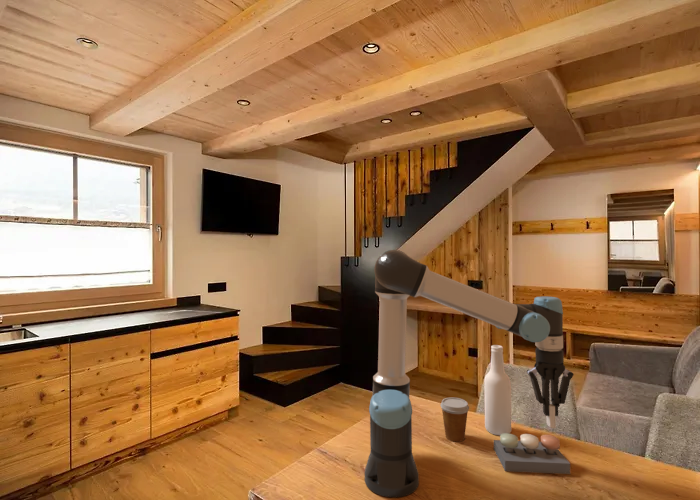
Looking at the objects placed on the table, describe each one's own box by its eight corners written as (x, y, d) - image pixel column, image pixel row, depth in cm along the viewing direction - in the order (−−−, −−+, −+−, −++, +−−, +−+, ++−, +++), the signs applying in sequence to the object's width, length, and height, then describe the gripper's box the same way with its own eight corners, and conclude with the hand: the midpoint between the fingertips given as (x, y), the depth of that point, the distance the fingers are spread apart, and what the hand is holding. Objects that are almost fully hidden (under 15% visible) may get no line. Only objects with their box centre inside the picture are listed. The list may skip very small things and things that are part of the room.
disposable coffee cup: (471, 445, 124) (470, 409, 124) (441, 442, 126) (440, 407, 126) (467, 431, 133) (467, 397, 133) (440, 429, 135) (439, 396, 135)
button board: (505, 471, 109) (505, 460, 109) (493, 449, 121) (493, 439, 121) (570, 474, 108) (570, 463, 108) (552, 451, 120) (552, 442, 120)
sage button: (503, 457, 113) (503, 441, 113) (498, 448, 118) (498, 432, 118) (520, 458, 112) (520, 441, 112) (514, 449, 117) (514, 433, 117)
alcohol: (514, 428, 135) (513, 345, 135) (508, 439, 128) (507, 350, 128) (488, 422, 140) (487, 341, 140) (481, 431, 133) (480, 347, 133)
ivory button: (524, 458, 112) (523, 441, 112) (518, 449, 117) (518, 433, 117) (541, 459, 112) (541, 442, 112) (535, 450, 117) (534, 434, 117)
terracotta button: (545, 459, 112) (544, 442, 112) (538, 450, 117) (538, 434, 117) (562, 460, 111) (562, 443, 111) (555, 451, 116) (555, 434, 116)
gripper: (531, 351, 111) (533, 431, 111) (578, 351, 109) (580, 432, 109) (522, 345, 118) (524, 419, 118) (565, 345, 117) (567, 420, 117)
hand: (550, 425), depth 114 cm, fingers closed
